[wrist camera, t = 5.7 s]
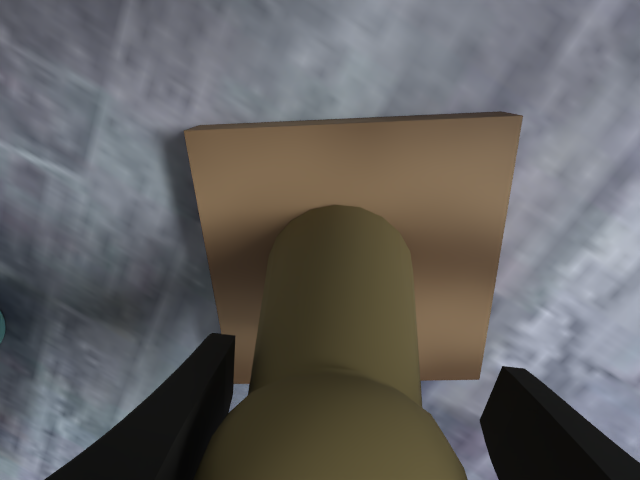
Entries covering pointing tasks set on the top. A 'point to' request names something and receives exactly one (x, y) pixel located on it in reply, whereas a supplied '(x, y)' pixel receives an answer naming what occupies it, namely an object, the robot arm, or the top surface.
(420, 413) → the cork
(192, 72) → the top surface
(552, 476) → the robot arm
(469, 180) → the walnut board
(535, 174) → the top surface
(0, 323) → the cupcake
